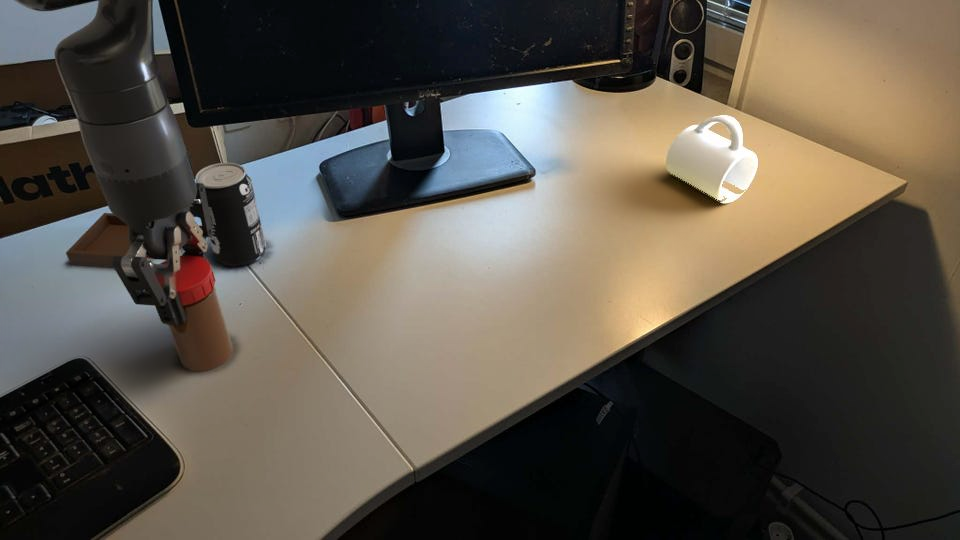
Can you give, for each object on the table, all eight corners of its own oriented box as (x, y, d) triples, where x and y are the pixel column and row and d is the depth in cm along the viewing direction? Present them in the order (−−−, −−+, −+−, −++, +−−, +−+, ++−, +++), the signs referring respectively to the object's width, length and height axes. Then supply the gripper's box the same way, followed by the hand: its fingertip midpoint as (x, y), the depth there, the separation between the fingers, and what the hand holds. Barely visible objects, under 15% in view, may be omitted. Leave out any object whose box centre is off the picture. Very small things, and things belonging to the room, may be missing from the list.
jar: (172, 369, 71) (142, 294, 64) (193, 334, 75) (167, 260, 68) (221, 373, 70) (196, 298, 64) (240, 338, 75) (218, 263, 68)
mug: (696, 166, 107) (714, 96, 100) (749, 194, 100) (772, 121, 93) (660, 180, 103) (675, 108, 96) (712, 210, 97) (733, 136, 89)
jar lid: (226, 275, 68) (222, 260, 67) (192, 311, 64) (187, 297, 63) (177, 265, 70) (172, 250, 68) (140, 300, 65) (134, 285, 64)
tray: (71, 265, 85) (65, 252, 83) (109, 224, 92) (104, 212, 91) (140, 269, 84) (135, 257, 83) (173, 228, 91) (169, 216, 90)
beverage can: (205, 254, 87) (181, 174, 79) (249, 233, 91) (230, 155, 83) (232, 276, 83) (209, 194, 76) (277, 253, 87) (259, 173, 80)
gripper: (141, 202, 52) (196, 354, 62) (214, 121, 63) (249, 261, 73) (49, 196, 52) (118, 348, 63) (137, 117, 63) (184, 257, 74)
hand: (189, 301), depth 68 cm, fingers closed on jar lid, 6 cm apart
